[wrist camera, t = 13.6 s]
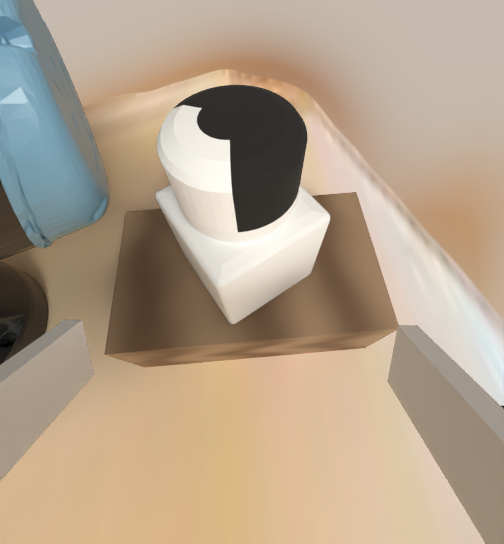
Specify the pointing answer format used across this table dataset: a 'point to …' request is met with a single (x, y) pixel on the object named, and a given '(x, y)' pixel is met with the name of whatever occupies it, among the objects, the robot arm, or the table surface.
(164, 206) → the medicine bottle
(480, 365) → the table surface
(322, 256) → the walnut box
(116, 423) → the table surface
